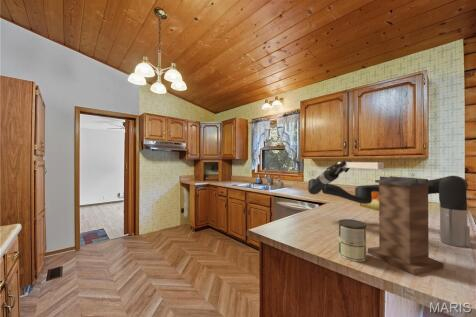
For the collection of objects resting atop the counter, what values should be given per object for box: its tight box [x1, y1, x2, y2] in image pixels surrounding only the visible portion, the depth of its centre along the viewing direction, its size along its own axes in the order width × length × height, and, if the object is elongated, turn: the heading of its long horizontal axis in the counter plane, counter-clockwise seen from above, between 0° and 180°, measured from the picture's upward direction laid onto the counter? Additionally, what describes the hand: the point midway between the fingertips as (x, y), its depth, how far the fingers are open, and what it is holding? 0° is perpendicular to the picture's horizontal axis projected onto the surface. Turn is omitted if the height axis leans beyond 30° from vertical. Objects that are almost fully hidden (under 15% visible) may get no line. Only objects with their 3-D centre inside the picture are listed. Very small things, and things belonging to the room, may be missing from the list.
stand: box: [367, 175, 445, 276], centre depth 83 cm, size 18×16×34 cm
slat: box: [337, 161, 385, 170], centre depth 104 cm, size 24×4×3 cm, turn 16°
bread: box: [359, 191, 379, 212], centre depth 174 cm, size 25×12×15 cm, turn 14°
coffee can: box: [338, 218, 367, 263], centre depth 86 cm, size 10×10×14 cm
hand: (348, 162), depth 110 cm, fingers closed on slat, 3 cm apart
